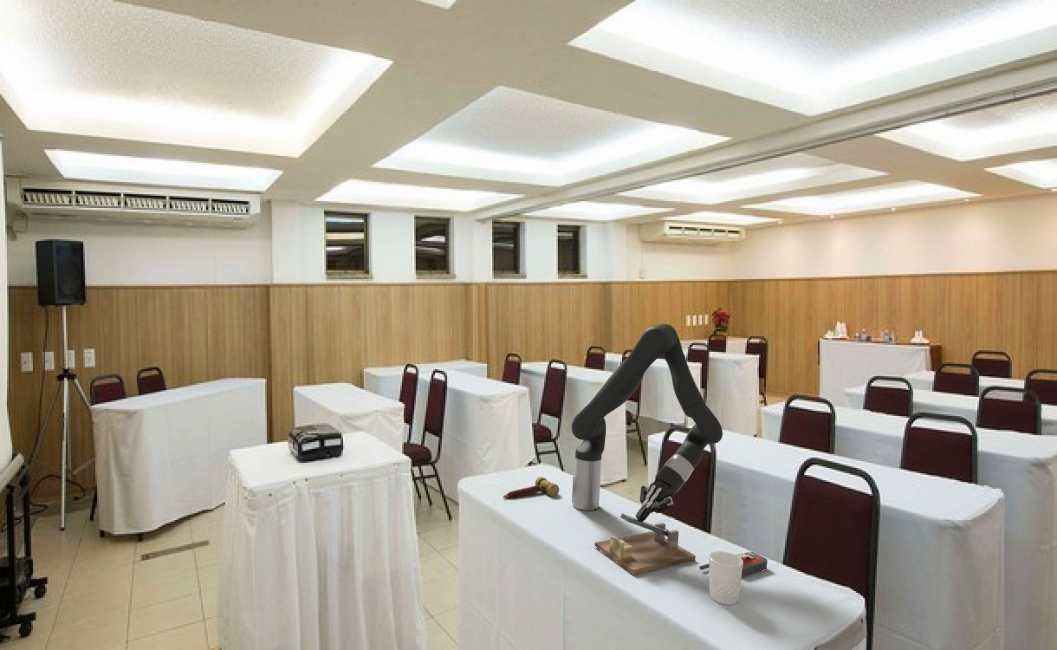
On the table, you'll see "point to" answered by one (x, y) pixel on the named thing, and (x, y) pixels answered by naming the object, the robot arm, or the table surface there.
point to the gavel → (535, 489)
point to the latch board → (646, 551)
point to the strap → (645, 525)
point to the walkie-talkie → (748, 563)
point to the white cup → (725, 577)
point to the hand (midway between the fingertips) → (638, 519)
